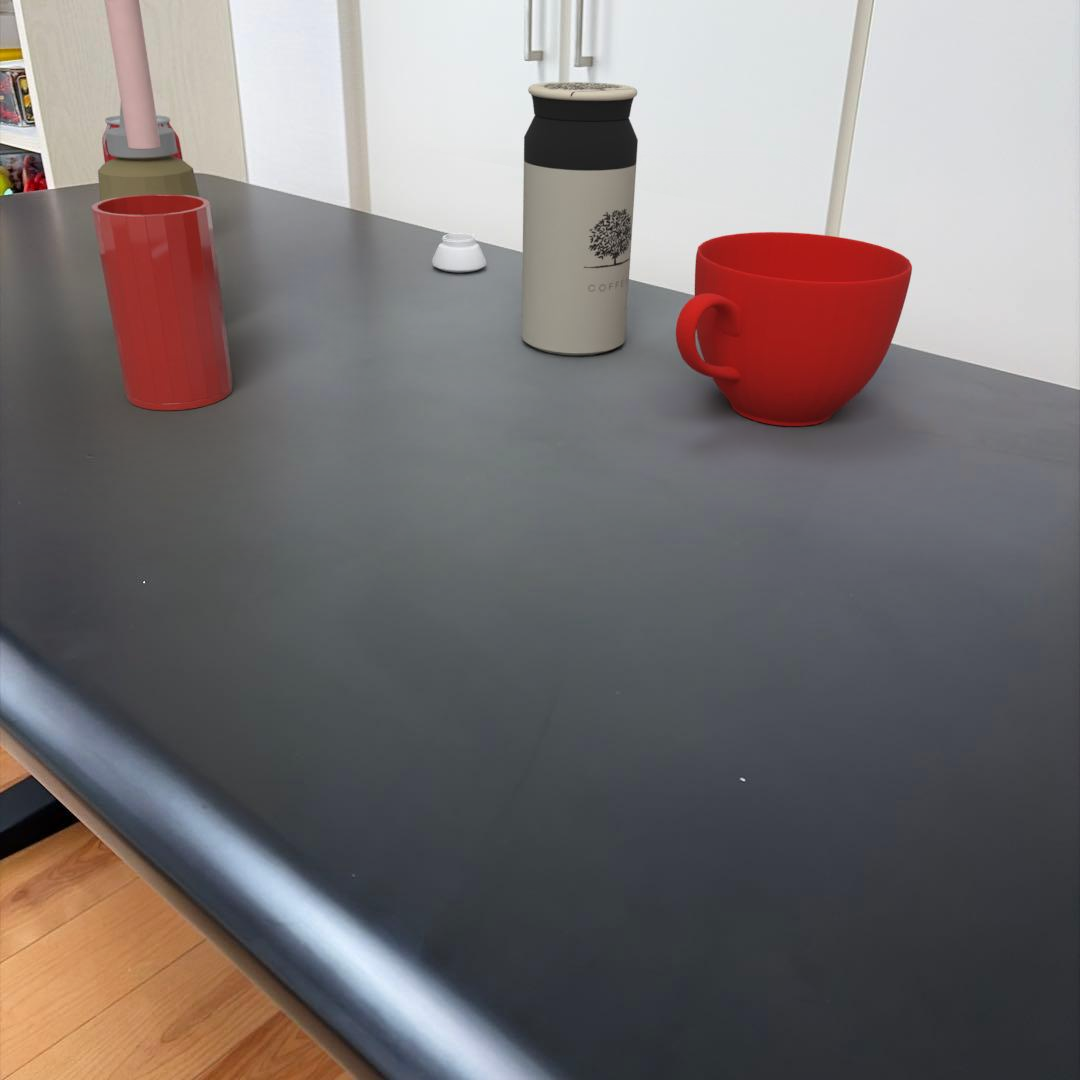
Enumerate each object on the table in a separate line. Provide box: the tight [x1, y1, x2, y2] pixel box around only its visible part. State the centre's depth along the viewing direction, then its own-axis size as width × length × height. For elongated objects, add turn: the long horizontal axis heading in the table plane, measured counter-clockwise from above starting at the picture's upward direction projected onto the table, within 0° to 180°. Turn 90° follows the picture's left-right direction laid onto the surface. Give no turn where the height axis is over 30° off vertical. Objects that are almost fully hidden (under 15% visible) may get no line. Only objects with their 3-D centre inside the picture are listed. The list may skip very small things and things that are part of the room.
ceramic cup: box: [675, 231, 913, 427], centre depth 64 cm, size 13×17×10 cm
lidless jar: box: [431, 232, 487, 274], centre depth 97 cm, size 5×3×5 cm
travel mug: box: [521, 81, 639, 357], centre depth 75 cm, size 8×8×18 cm
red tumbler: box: [91, 194, 234, 412], centre depth 65 cm, size 7×7×12 cm
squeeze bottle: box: [97, 104, 200, 202], centre depth 76 cm, size 8×8×18 cm
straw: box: [104, 0, 161, 150], centre depth 57 cm, size 2×2×15 cm
